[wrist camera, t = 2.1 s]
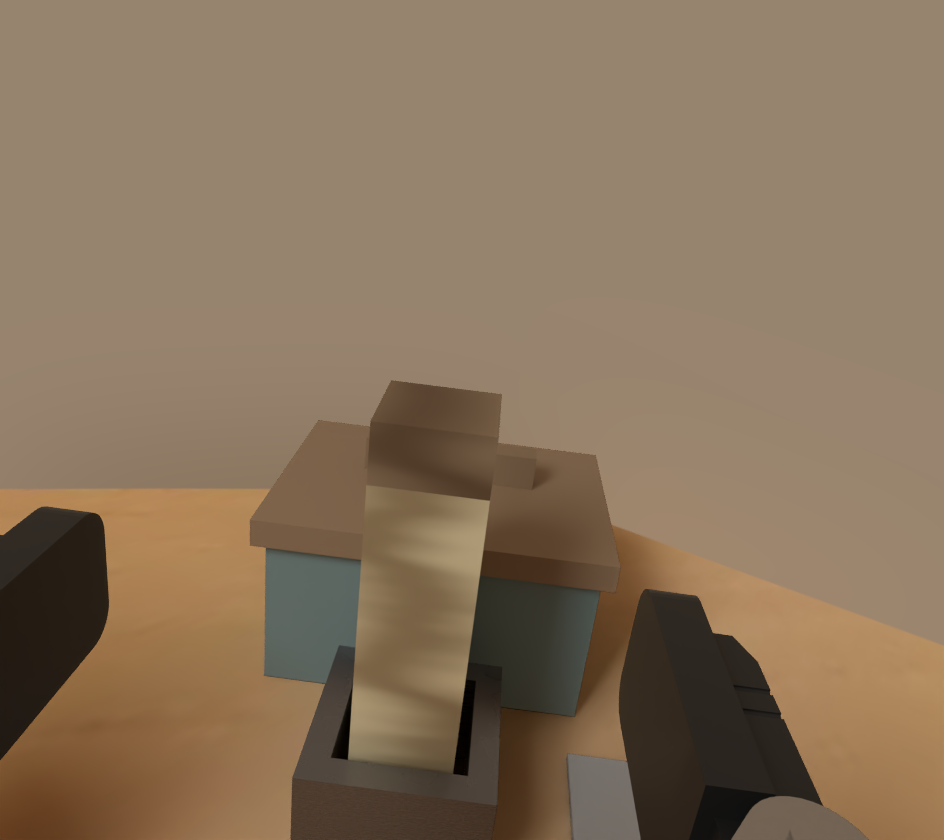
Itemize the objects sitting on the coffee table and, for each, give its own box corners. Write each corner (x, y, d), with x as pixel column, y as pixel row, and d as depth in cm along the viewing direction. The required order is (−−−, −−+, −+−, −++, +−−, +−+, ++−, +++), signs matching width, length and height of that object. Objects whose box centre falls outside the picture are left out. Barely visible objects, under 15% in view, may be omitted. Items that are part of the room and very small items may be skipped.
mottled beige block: (451, 767, 30) (501, 394, 24) (442, 847, 27) (498, 437, 21) (362, 755, 30) (391, 380, 24) (343, 833, 27) (370, 421, 21)
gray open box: (490, 743, 32) (502, 666, 30) (482, 892, 25) (497, 805, 24) (334, 722, 32) (338, 645, 30) (289, 866, 26) (292, 777, 24)
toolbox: (571, 584, 43) (600, 427, 40) (586, 726, 33) (628, 533, 29) (313, 550, 44) (319, 392, 40) (249, 681, 33) (250, 484, 30)
